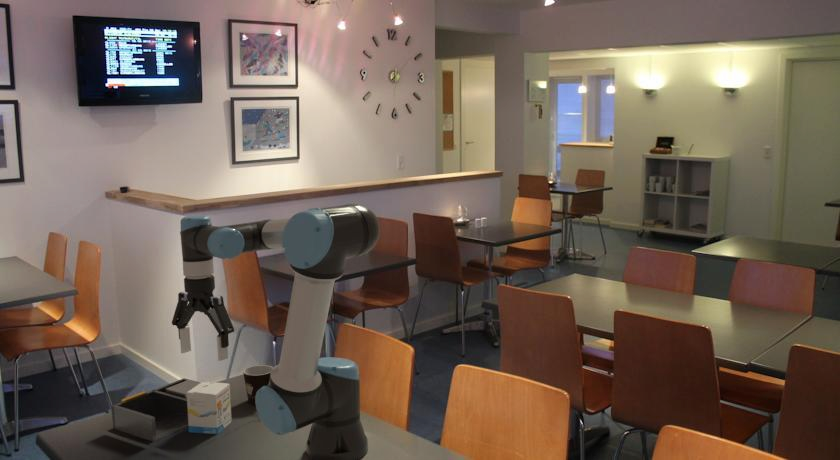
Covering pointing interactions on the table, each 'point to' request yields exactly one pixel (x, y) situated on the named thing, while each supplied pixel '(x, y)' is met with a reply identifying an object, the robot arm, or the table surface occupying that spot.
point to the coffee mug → (256, 380)
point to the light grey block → (181, 388)
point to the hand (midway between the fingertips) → (204, 355)
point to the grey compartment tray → (151, 413)
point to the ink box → (209, 407)
